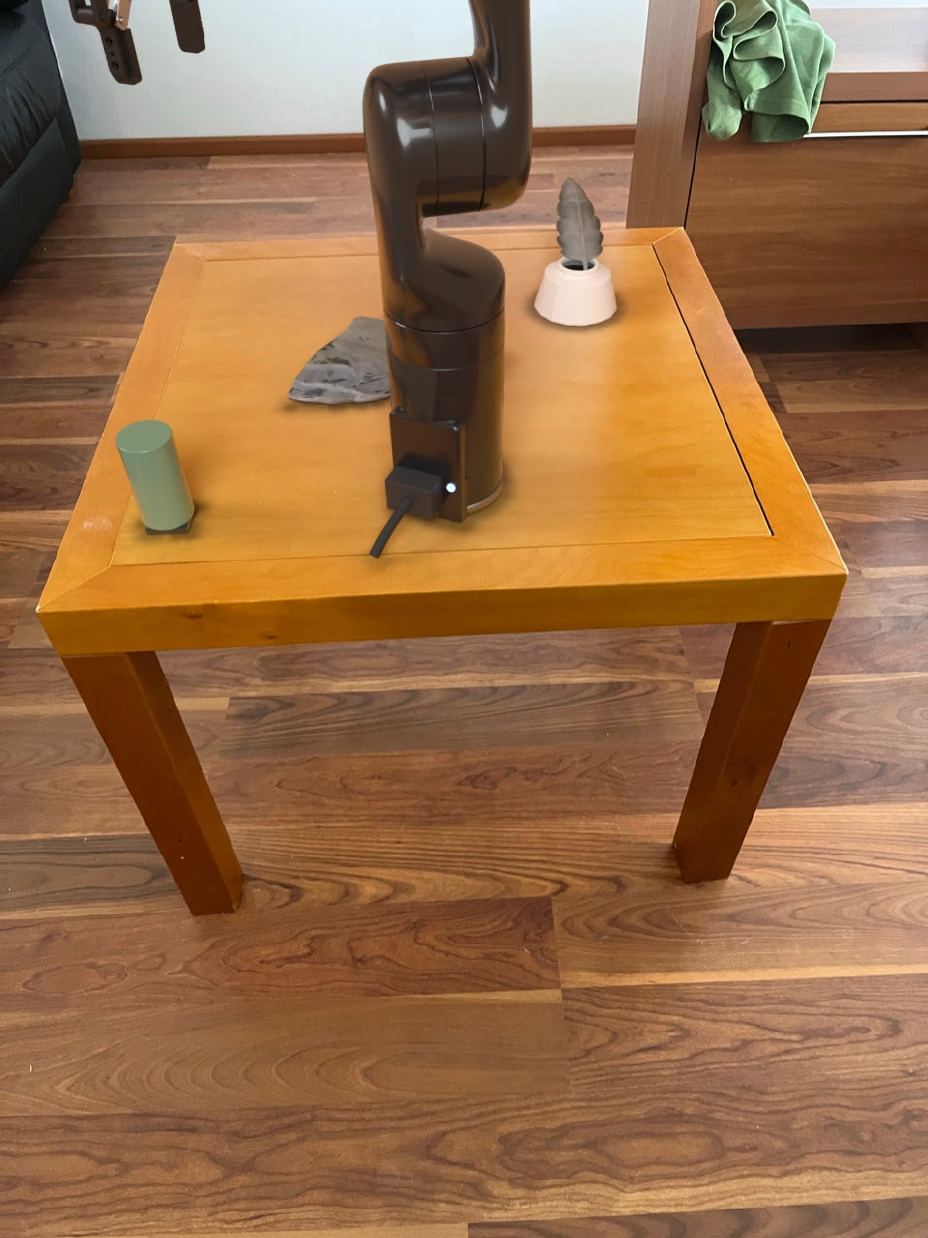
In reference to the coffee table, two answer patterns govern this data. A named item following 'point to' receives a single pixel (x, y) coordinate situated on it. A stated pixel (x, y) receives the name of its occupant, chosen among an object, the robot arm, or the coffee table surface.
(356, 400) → the fossil rock
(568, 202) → the inkwell
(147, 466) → the sage green cylinder
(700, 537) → the coffee table surface
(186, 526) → the coaster
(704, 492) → the coffee table surface
